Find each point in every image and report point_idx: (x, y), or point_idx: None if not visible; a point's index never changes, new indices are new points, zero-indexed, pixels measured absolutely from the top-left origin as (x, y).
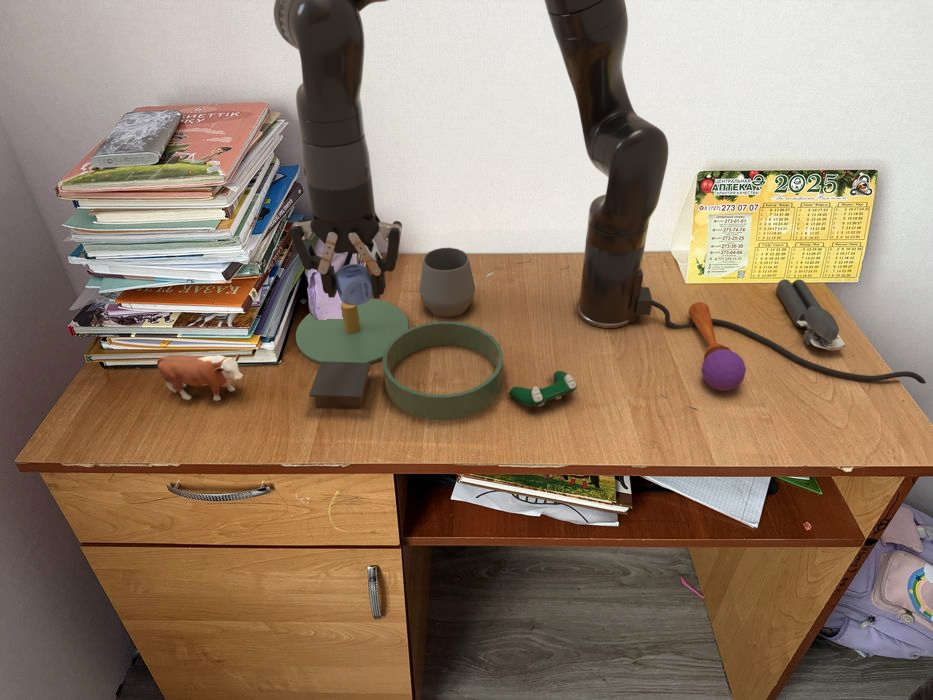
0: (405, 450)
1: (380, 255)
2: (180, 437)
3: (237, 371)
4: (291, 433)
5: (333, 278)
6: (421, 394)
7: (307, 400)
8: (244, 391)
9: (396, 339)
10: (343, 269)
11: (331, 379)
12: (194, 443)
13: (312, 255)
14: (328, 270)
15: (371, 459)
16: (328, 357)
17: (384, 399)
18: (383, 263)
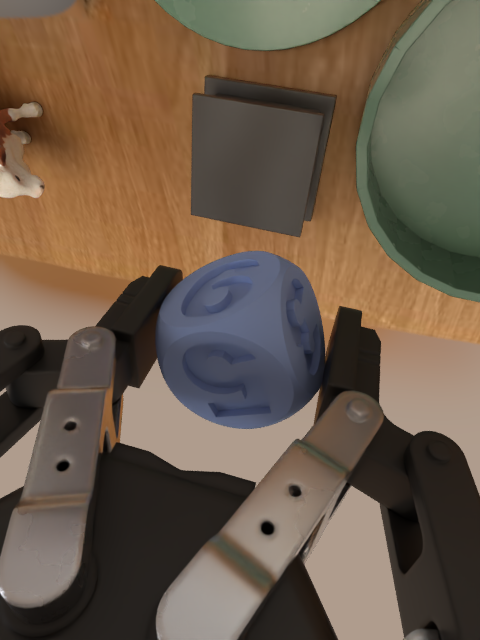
0: (380, 309)
1: (365, 450)
2: (14, 218)
3: (25, 191)
4: (181, 238)
5: (154, 332)
6: (436, 286)
7: (188, 154)
8: (55, 107)
9: (415, 38)
10: (184, 357)
11: (229, 171)
12: (42, 234)
13: (17, 380)
14: (124, 386)
15: (320, 314)
16: (206, 9)
17: (354, 173)
18: (373, 496)
